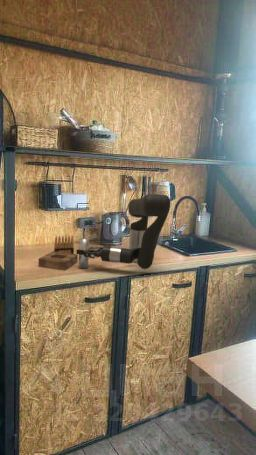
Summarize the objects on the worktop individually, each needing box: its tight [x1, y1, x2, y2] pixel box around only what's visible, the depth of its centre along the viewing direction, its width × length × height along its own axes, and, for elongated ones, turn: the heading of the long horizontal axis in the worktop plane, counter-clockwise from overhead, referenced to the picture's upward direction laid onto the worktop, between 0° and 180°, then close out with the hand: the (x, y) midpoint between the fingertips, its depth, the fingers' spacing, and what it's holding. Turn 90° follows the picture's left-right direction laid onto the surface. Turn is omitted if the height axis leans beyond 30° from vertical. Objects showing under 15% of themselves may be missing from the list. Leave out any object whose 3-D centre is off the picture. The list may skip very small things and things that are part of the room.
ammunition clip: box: [53, 234, 75, 254], centre depth 198 cm, size 11×2×12 cm, turn 116°
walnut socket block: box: [38, 250, 79, 271], centre depth 185 cm, size 16×14×4 cm
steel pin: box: [78, 237, 90, 269], centre depth 181 cm, size 5×5×14 cm
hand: (78, 250), depth 181 cm, fingers closed on steel pin, 4 cm apart
